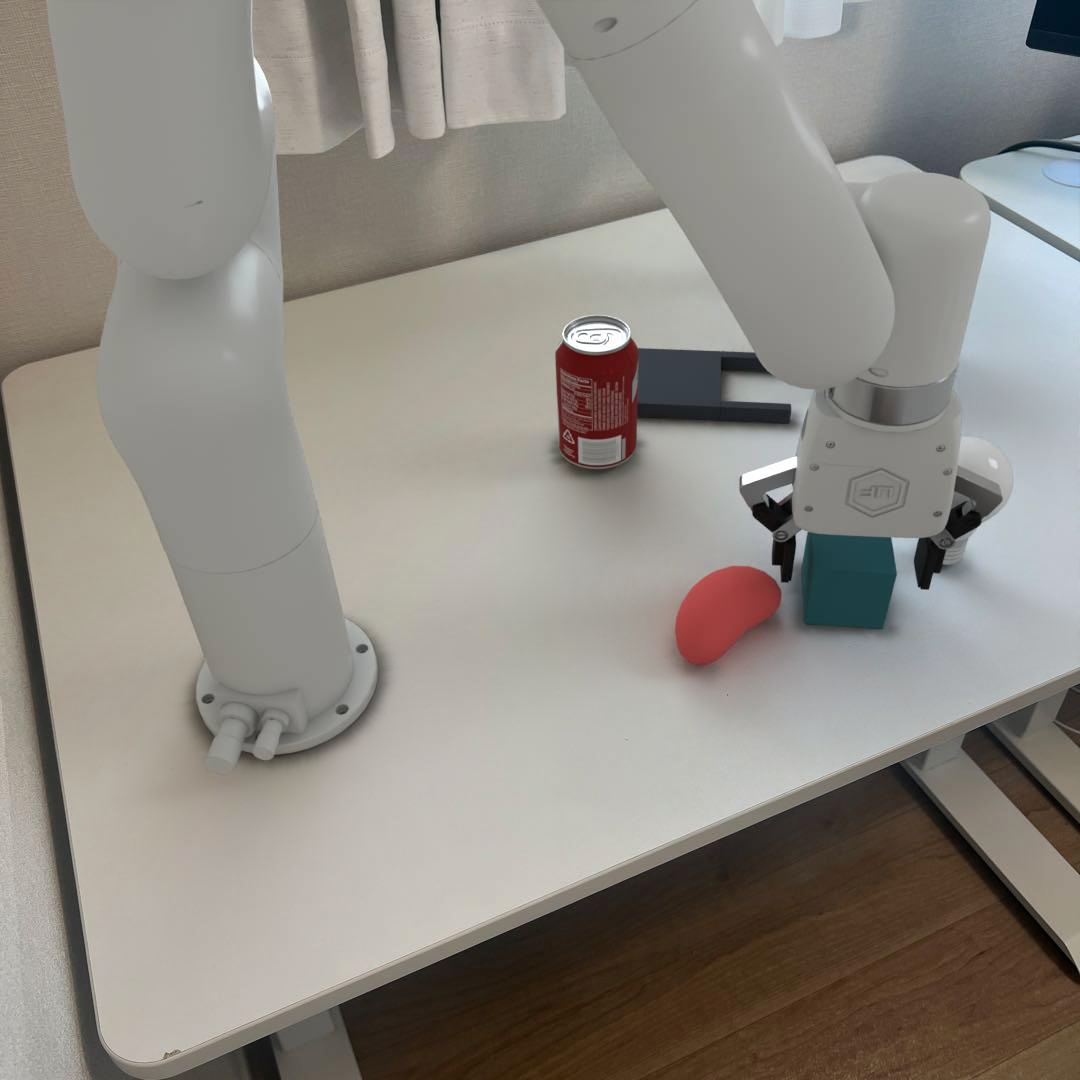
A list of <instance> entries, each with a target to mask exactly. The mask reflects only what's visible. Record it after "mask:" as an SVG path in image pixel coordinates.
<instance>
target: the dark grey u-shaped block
mask: <svg viewBox="0 0 1080 1080" xmlns="http://www.w3.org/2000/svg"><path fill="white" fill-rule="evenodd" d="M638 351H639V359H638V400H637V418H638V417H641V418H658V419H659V418H660V419H663V418H664V419H683V420H685V419H686V420H707V421H728V422H729V421H730V422H749V423H750V422H752V423H772V424H773V423H774V424H790V422H791V415H792V404H791V403H783V402H782V403H781V402H757V401H734V400H722V398H721V395H722V394H721V393H722V392H721V391H722V379H721V378H722V370H723V371H740V372H741V371H742V372H744V371H745V372H764V373H765V372H767V373H769V372H768V371H767V370H766V369H765V368H764V366H763V365H762V364H761V362H760V361H759V359H758V358H757V356H756V354H755V352H754V351H753V352H752V351H730V350H729V351H725V350H722V351H721V350H701V349H699V350H698V349H672V348H649V347H648V348H645V347H638Z"/></svg>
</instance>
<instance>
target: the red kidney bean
mask: <svg viewBox="0 0 1080 1080" xmlns="http://www.w3.org/2000/svg"><path fill="white" fill-rule="evenodd" d="M781 602H782V590H781V587H780V586H779V584H778V582H777V581H776V580H775V578H774V577H772V576H770V574H768V573H767V572H766V571H763V570H761V569H759V568H756V567H753V566H750V565H729V566H727V567H723V568H720V569H717V570H714V571H712V572H710V573H709V574H706V576H704V577H702V578H701V579H700V580H699V581H698V582H697V583H695V584H694V585H693V586H692V588H690V590H689V592H687V594H686V595H685V597H684V598H683V600H682V601H681V602H680V606H679V609H678V612H677V614H676V617H675V626H674V635H675V641H676V646H677V649H678V651H679V653H680V655H681V656H682V658H684V659H685V660H686V661H687V662H689V663H692V664H694V665H700V666H704V665H710V664H712V663H714V662H716V661H717V660H719V659H721V657H723V656H724V655H725V654H726V653H727V652H728V651H729V650H730V649H731V648H732V647H733V646H734V645H735V644H736V643H737V642H738V641H739V639H740V638H741V637H742V636H743V635H744V634H745V633H746V632H748V631H749V630H752V629H753V628H754V627H756V626H757V625H759V624H761V623H762V622H764V621H766V620H768V618H770V617H772V616H773V615H774V614H775V613H776V612H777V610H778V609H779V607H780V605H781Z"/></svg>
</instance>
